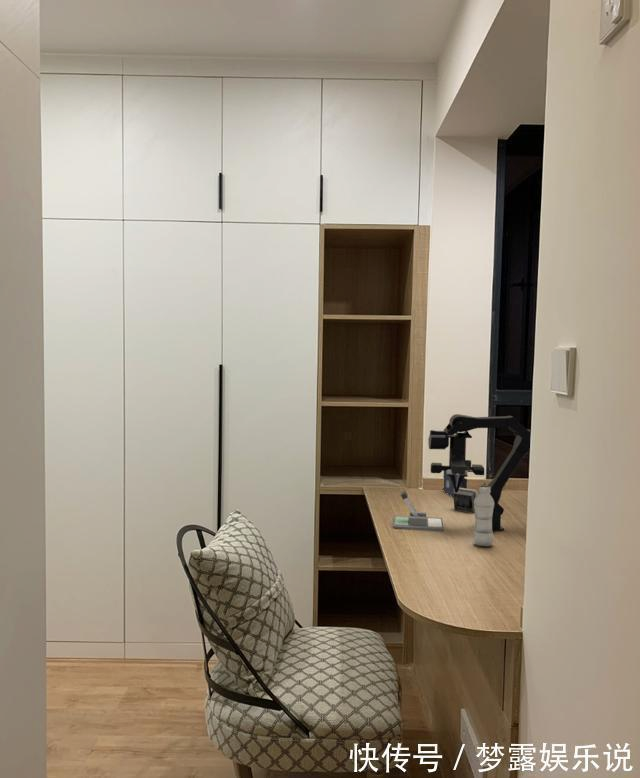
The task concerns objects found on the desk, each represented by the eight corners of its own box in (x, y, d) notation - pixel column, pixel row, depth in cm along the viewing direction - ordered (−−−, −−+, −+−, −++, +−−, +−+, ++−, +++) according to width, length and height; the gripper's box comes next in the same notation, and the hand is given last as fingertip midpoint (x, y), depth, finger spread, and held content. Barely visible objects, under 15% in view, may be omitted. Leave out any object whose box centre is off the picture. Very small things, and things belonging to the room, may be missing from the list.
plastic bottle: (496, 548, 205) (498, 488, 203) (477, 549, 203) (479, 489, 202) (488, 541, 211) (490, 483, 209) (469, 542, 210) (471, 484, 208)
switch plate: (442, 520, 236) (442, 510, 235) (443, 531, 222) (444, 521, 221) (394, 517, 238) (394, 508, 238) (392, 528, 224) (393, 518, 224)
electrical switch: (478, 511, 249) (478, 488, 247) (473, 515, 244) (473, 492, 243) (455, 507, 254) (455, 485, 252) (451, 511, 249) (450, 489, 248)
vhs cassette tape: (466, 502, 262) (467, 478, 262) (460, 502, 262) (460, 479, 261) (448, 491, 280) (449, 469, 280) (442, 491, 280) (443, 469, 279)
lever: (421, 517, 232) (405, 490, 232) (421, 521, 227) (405, 493, 228) (417, 519, 232) (401, 492, 232) (417, 523, 228) (400, 495, 228)
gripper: (431, 452, 218) (430, 496, 219) (486, 455, 215) (485, 499, 216) (431, 447, 229) (429, 489, 230) (483, 449, 226) (481, 491, 227)
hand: (456, 492), depth 225 cm, fingers closed
